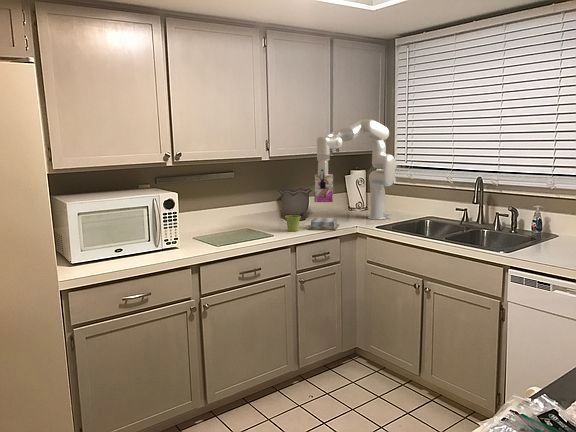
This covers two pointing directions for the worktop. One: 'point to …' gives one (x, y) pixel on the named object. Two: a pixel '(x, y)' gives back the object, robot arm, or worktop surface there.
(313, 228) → the blueprint base
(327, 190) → the candy bar box
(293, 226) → the plant pot
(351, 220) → the worktop surface
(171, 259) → the worktop surface
